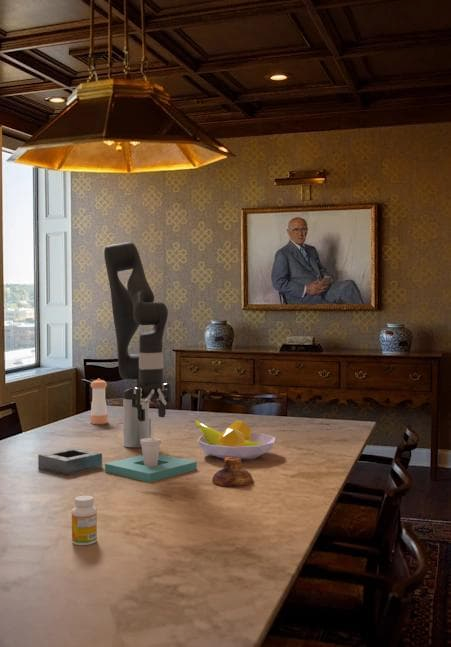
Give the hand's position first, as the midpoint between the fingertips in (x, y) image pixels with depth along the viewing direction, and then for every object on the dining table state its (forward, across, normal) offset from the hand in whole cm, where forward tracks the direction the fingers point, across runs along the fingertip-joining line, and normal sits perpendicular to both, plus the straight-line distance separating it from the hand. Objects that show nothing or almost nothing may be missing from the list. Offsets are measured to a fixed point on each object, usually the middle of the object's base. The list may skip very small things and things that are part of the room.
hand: (151, 419), depth 219 cm
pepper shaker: (+17, -45, -80) cm, 93 cm away
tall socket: (+16, +14, -22) cm, 31 cm away
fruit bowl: (+17, -32, +6) cm, 37 cm away
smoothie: (+16, +1, 0) cm, 16 cm away
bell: (+16, -5, +28) cm, 33 cm away
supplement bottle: (+15, +55, +36) cm, 67 cm away
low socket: (+16, 0, 0) cm, 16 cm away
